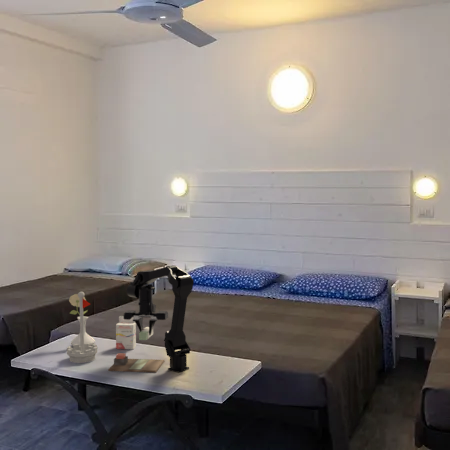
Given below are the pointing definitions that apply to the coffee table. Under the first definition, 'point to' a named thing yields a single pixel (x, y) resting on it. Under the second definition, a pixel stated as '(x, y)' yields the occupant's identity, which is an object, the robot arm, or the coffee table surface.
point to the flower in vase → (76, 302)
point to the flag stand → (82, 340)
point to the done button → (121, 356)
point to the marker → (145, 334)
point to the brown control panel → (136, 365)
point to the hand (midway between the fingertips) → (146, 334)
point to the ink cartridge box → (125, 334)
